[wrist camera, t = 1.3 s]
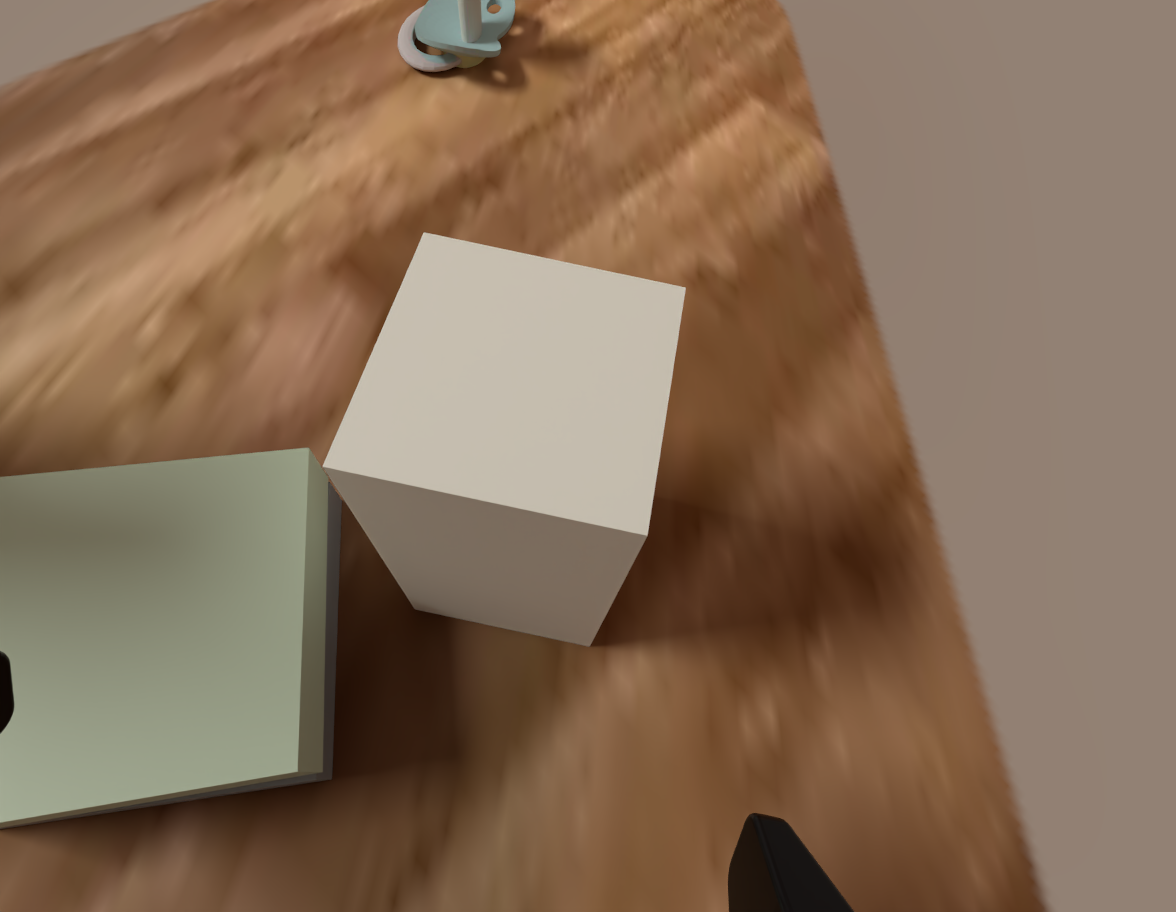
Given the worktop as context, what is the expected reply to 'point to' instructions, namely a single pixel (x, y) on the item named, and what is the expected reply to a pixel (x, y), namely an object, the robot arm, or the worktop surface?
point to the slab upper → (161, 630)
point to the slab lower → (329, 680)
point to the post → (511, 435)
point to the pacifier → (455, 33)
